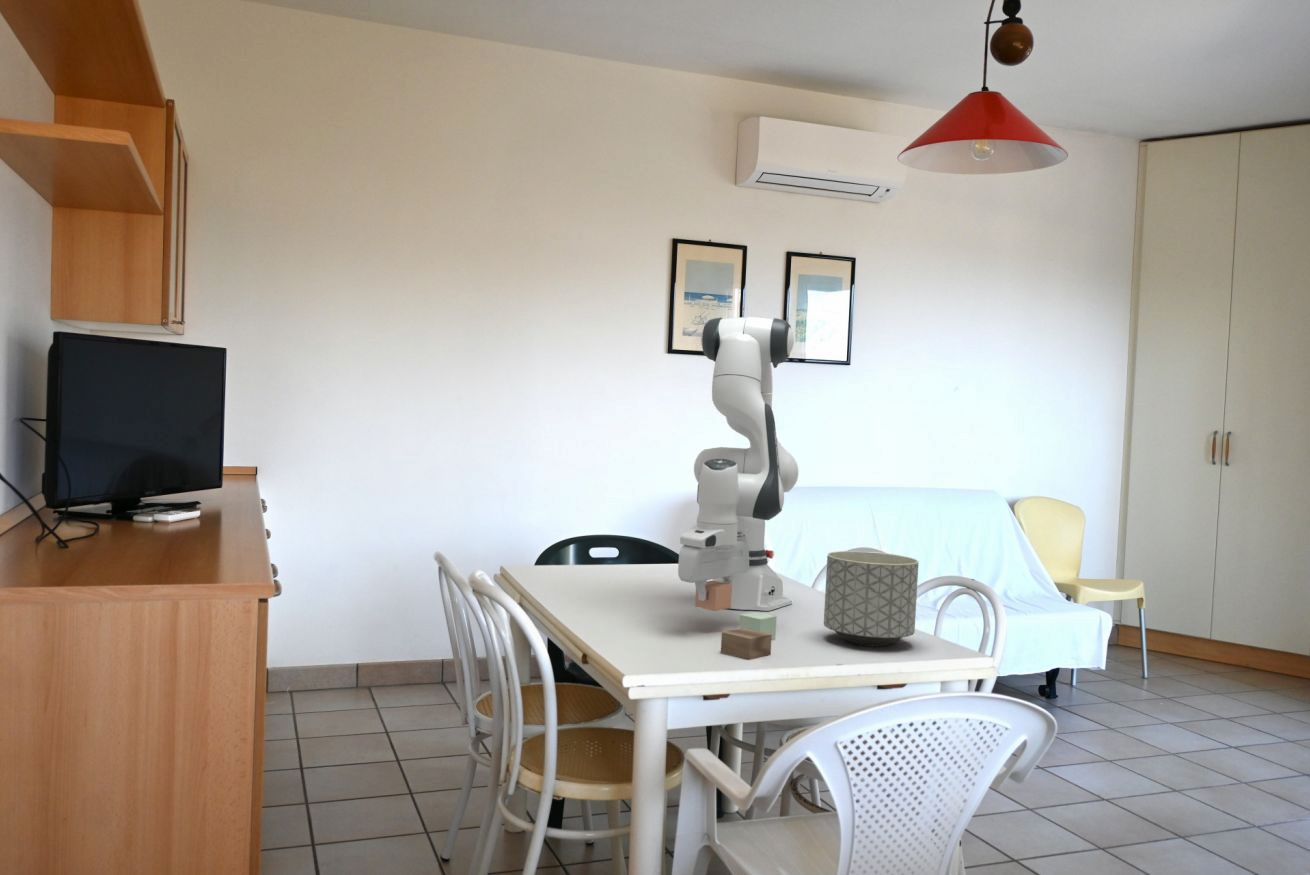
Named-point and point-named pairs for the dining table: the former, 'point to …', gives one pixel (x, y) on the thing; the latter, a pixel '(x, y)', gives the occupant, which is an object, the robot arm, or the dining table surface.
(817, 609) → the dining table surface
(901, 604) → the planter
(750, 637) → the walnut base
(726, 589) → the terracotta block
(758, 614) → the sage block
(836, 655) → the dining table surface
